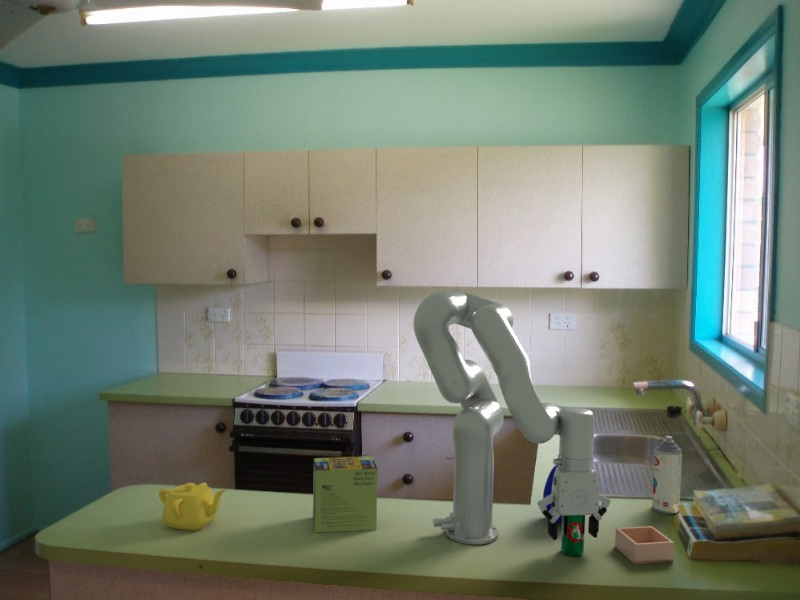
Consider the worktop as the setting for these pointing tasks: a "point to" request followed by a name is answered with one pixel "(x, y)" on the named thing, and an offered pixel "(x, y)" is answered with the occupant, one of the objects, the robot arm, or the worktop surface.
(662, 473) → the aerosol can
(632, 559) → the box
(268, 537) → the worktop surface
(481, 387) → the robot arm
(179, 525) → the teapot
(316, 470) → the protein box
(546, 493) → the ornament
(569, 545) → the soda can
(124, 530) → the worktop surface
